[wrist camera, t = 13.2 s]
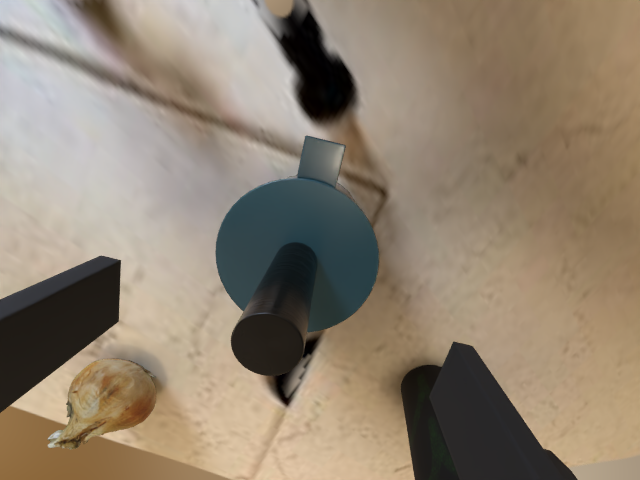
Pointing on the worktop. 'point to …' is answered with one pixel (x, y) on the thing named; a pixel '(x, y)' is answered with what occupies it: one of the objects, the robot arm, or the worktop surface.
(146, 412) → the onion
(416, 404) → the cup
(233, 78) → the worktop surface
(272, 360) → the lid
